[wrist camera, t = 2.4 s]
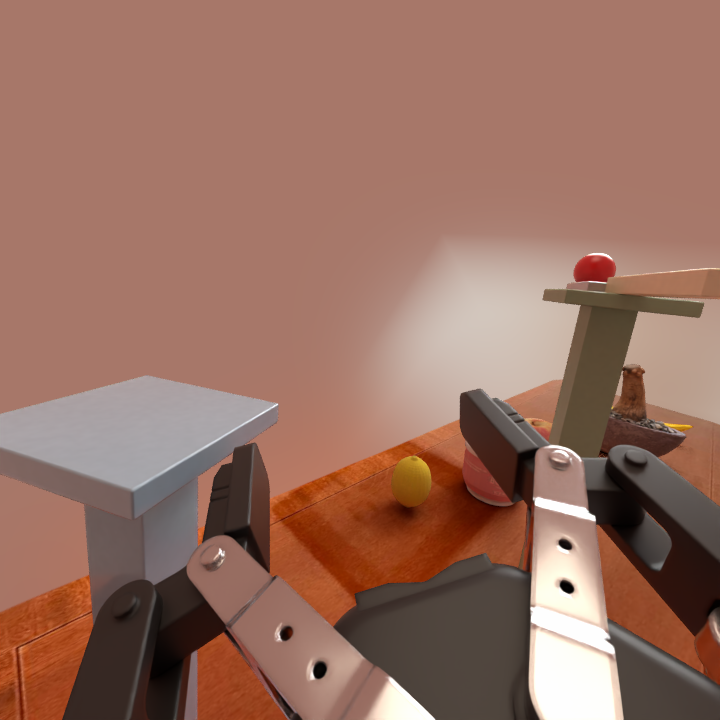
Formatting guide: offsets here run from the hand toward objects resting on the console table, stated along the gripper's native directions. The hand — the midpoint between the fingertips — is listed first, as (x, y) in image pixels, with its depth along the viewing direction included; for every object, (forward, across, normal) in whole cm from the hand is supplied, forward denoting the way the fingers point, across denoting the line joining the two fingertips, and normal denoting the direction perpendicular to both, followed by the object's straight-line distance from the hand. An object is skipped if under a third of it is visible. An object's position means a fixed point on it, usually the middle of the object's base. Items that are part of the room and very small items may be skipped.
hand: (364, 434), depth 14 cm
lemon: (+23, -8, +35) cm, 43 cm away
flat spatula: (+9, -21, +1) cm, 23 cm away
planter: (+36, -58, +53) cm, 86 cm away
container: (+25, -22, +40) cm, 52 cm away
